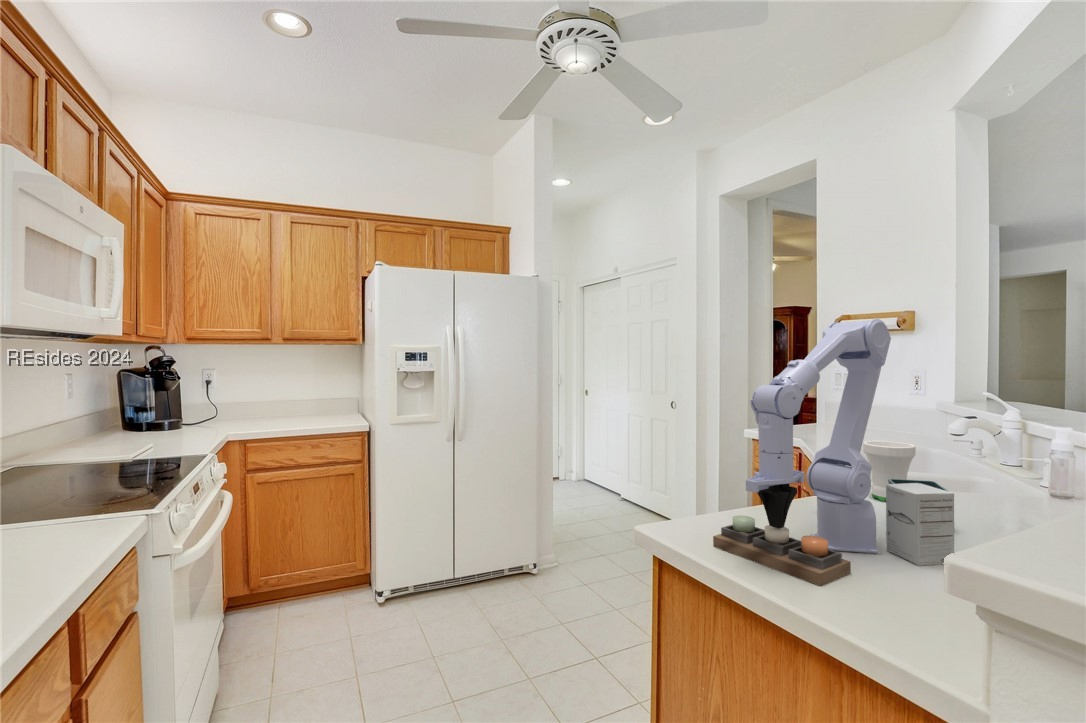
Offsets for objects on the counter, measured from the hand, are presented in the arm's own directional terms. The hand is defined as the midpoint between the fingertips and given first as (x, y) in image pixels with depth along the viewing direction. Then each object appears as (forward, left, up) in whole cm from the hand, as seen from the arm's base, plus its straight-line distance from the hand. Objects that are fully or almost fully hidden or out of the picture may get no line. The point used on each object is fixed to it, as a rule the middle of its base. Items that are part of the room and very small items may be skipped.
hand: (776, 526), depth 92 cm
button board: (0, 0, -6) cm, 6 cm away
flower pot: (-33, -26, -6) cm, 43 cm away
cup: (-36, -48, -6) cm, 60 cm away
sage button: (+5, -5, -2) cm, 7 cm away
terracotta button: (-5, +5, -2) cm, 7 cm away
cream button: (0, 0, -2) cm, 2 cm away
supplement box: (-25, -6, -6) cm, 26 cm away
